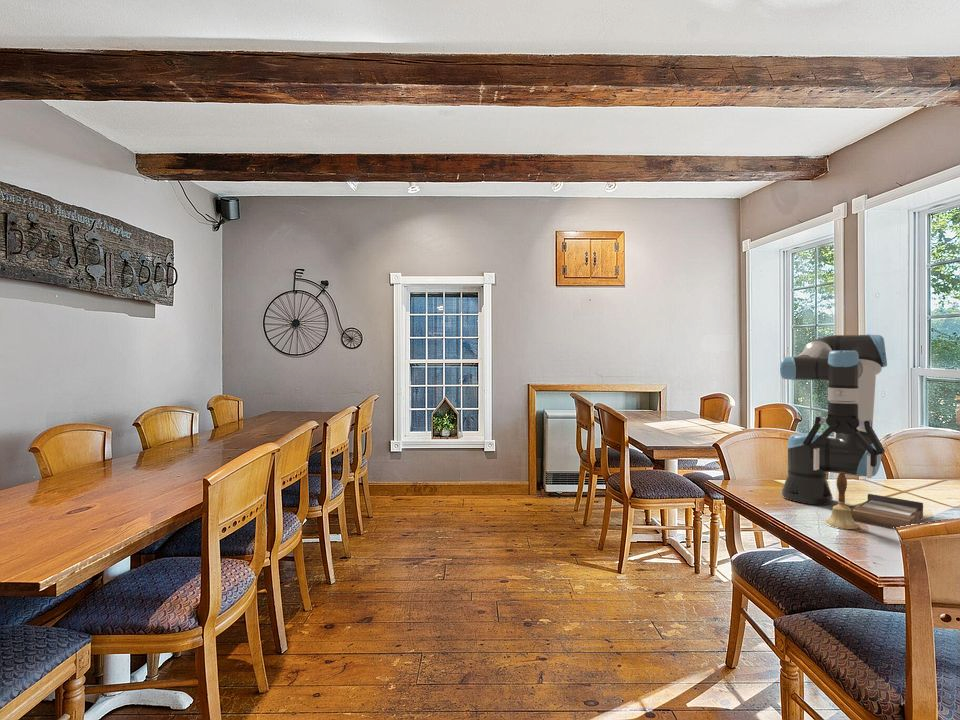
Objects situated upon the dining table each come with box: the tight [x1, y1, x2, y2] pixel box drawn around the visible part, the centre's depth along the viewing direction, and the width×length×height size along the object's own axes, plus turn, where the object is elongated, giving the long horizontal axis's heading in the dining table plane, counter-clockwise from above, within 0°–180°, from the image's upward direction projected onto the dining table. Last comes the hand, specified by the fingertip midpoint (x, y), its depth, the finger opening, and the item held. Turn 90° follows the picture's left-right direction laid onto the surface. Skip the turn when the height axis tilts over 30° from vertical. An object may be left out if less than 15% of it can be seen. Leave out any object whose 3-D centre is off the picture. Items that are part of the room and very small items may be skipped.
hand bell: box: [825, 472, 860, 530], centre depth 159 cm, size 8×8×16 cm
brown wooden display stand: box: [851, 493, 924, 529], centre depth 165 cm, size 18×14×5 cm
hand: (842, 473), depth 159 cm, fingers open, 13 cm apart
